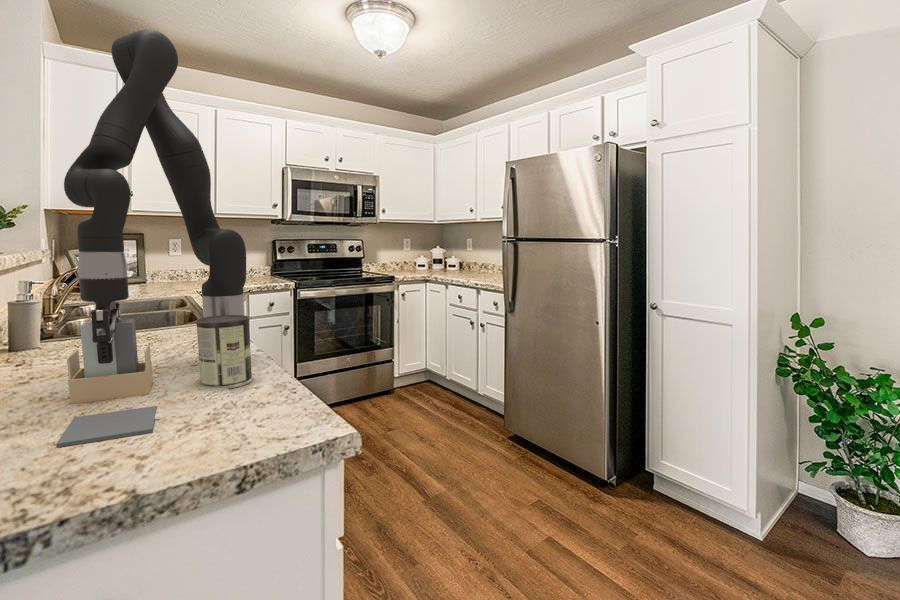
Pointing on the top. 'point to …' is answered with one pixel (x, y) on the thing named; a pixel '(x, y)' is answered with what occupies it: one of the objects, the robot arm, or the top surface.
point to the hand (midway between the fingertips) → (109, 358)
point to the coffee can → (224, 350)
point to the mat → (108, 426)
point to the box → (121, 348)
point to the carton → (107, 382)
